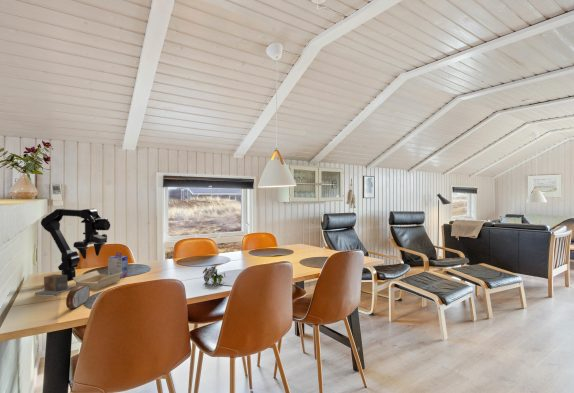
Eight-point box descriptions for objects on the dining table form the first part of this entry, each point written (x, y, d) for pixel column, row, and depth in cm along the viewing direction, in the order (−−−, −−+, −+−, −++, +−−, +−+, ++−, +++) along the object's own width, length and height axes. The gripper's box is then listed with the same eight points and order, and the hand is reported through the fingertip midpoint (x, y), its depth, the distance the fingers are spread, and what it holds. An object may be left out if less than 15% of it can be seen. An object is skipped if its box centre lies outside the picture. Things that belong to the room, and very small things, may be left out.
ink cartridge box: (128, 276, 193) (128, 252, 193) (122, 278, 188) (121, 254, 188) (114, 275, 195) (113, 251, 195) (107, 278, 190) (107, 253, 190)
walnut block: (44, 290, 163) (43, 276, 163) (53, 287, 168) (52, 274, 168) (58, 291, 161) (58, 277, 161) (67, 288, 166) (67, 275, 166)
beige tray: (72, 288, 170) (72, 277, 170) (96, 280, 185) (96, 270, 185) (101, 290, 166) (101, 279, 166) (123, 281, 182) (123, 271, 182)
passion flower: (206, 293, 176) (198, 273, 180) (224, 286, 182) (216, 267, 186) (210, 286, 167) (202, 266, 172) (229, 279, 173) (220, 259, 178)
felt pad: (34, 294, 160) (34, 292, 160) (56, 287, 172) (56, 285, 172) (54, 295, 158) (54, 293, 158) (75, 288, 169) (75, 286, 169)
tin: (84, 299, 151) (84, 282, 151) (91, 299, 152) (91, 281, 152) (65, 311, 136) (64, 291, 136) (73, 311, 137) (72, 291, 137)
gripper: (89, 232, 176) (90, 261, 176) (114, 228, 194) (114, 254, 194) (72, 232, 178) (73, 260, 178) (98, 228, 197) (99, 253, 197)
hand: (91, 257), depth 187 cm, fingers open, 9 cm apart
